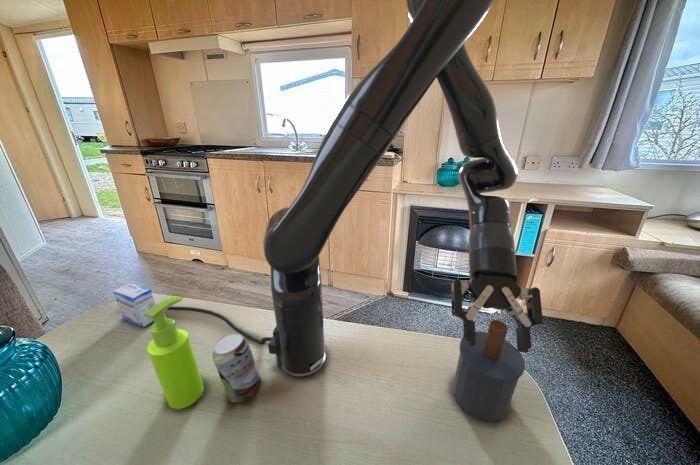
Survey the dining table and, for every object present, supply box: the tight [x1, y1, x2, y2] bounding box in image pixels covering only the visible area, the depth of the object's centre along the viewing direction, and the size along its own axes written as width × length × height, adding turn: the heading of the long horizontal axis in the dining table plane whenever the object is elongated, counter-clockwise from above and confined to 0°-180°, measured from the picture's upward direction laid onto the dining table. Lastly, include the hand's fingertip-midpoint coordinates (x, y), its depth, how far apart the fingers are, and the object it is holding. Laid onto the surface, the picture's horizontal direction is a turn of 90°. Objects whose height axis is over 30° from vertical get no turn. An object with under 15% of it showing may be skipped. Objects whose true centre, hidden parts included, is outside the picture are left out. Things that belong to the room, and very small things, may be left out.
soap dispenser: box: [144, 295, 205, 410], centre depth 48 cm, size 6×7×20 cm
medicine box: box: [112, 282, 157, 328], centre depth 69 cm, size 8×4×9 cm, turn 68°
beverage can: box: [211, 332, 262, 404], centre depth 50 cm, size 6×7×12 cm
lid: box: [459, 319, 526, 381], centre depth 46 cm, size 10×10×7 cm
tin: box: [452, 352, 520, 423], centre depth 49 cm, size 9×9×10 cm
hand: (497, 348), depth 45 cm, fingers open, 7 cm apart
